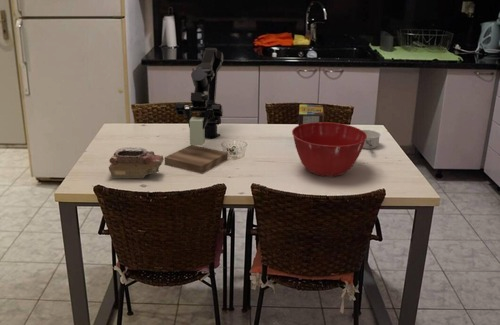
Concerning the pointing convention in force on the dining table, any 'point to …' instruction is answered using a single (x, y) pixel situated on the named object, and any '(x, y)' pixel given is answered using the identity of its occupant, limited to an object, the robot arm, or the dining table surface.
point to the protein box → (310, 114)
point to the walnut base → (196, 158)
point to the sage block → (197, 131)
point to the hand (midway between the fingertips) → (196, 128)
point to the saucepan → (371, 139)
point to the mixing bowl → (328, 147)
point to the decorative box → (134, 163)
